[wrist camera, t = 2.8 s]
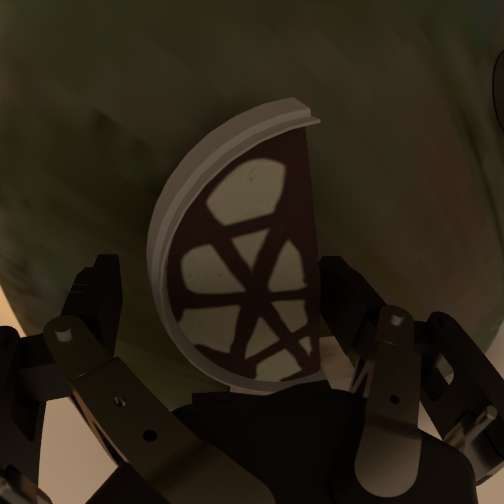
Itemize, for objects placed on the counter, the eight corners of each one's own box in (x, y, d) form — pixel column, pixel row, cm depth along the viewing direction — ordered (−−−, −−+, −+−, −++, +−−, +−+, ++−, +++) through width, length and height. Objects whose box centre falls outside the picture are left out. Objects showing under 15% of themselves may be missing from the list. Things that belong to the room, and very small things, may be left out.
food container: (137, 118, 15) (79, 154, 7) (247, 93, 16) (318, 99, 7) (190, 297, 22) (202, 423, 13) (276, 276, 22) (328, 390, 14)
